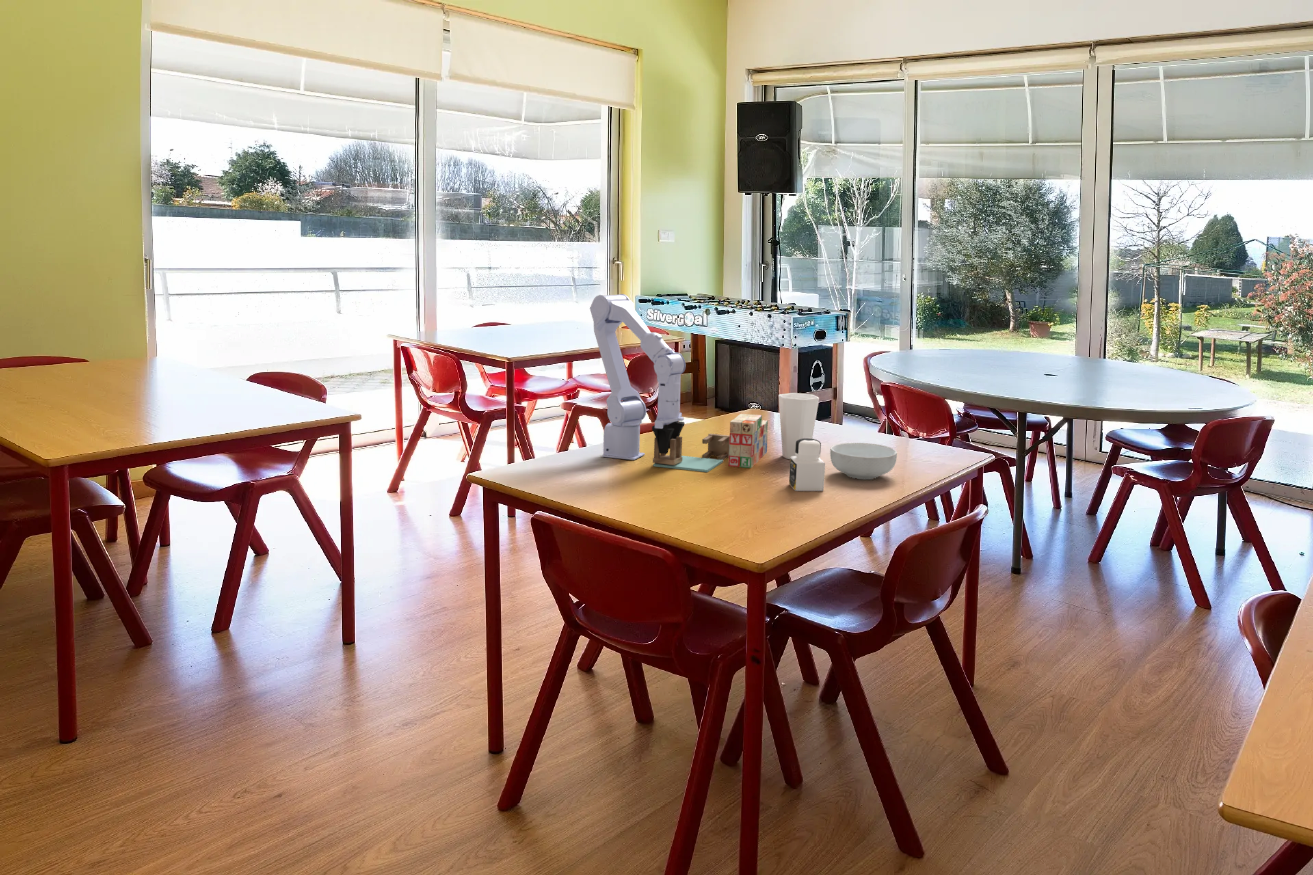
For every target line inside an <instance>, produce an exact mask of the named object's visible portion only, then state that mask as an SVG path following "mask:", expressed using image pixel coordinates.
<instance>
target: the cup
mask: <svg viewBox="0 0 1313 875" xmlns="http://www.w3.org/2000/svg"><path fill="white" fill-rule="evenodd" d="M819 402H820V397H818V396H817V395H815V394H811V393H801V392H799V393H798V392H789V393H781V394H778V406H779V408H778V410H779V422H780V438H781V450H782V452H781V453H782V457H783V458H784V459H788V460H790V457H791V456H795V449H796V441H797V440H799V439H803V438H810V439H814V438H813V436H814V431H815V425H816V420H817V414H818V413H817V412H818V408H819Z"/></svg>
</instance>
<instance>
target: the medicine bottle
mask: <svg viewBox="0 0 1313 875" xmlns="http://www.w3.org/2000/svg"><path fill="white" fill-rule="evenodd" d="M821 447H822V443H821V441H820V440H817V439H816V438H812V439H810V438H803V439H799V440H797V441H796V449H795V456H791V457H790V459H789V474H788V475H789V476H788V480H789V481H788V484H789V485H790V487H791V488H792V489H793V490H794V491H795V492H823V491H824V489H825V474H826V472H825V470H826V468H825V467H826V462H824V460H823V459H822V458H820V457H821V452H822V451H821V449H822V448H821Z"/></svg>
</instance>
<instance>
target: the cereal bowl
mask: <svg viewBox="0 0 1313 875" xmlns="http://www.w3.org/2000/svg"><path fill="white" fill-rule="evenodd" d="M829 454H830V461H831V463H832V466H833V467H834V468H835V469H836V470H837V471H839V472H840V473H843V474H845V475H846V476H847V477H849V476H850V477H849V478H851V477H852V478H851V479H855V478H857V479H858V480H874V479H873V478H875V479H877V478H879V476H883V475H885V474H888V473H890V472H891V471H892V470H893V469H894V467H895V465H896V463H897V457H898V452H897V450H896V449H894V448H892V447H890V446H887V445H883V444H877V443H865V442H845V443H839V444H834V445H832V446H831V447H830V450H829ZM876 477H877V478H876ZM857 479H856V480H857Z"/></svg>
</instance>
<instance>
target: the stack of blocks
mask: <svg viewBox="0 0 1313 875" xmlns="http://www.w3.org/2000/svg"><path fill="white" fill-rule="evenodd" d="M768 423H769V421H768V420H767V419H766V420H765V419H763V415H761V414H749V413H748V414H745V413H740V414H738V415H737V416H736V417H735V418H734V419H731V420H730V421H729V435H730V436H729V458H728V462H727V463H728V467H734V468H735V467H736V468H746V469H751V468H753V467H754V466H755V465H756V464H757V463H758V462H759V461H760V460H761V458H762V457H764V456H765V455H766V454H767V452H768V440H769V439H768V438H769V437H768V435H769V434H768V432H769V431H768V426H769V425H768Z"/></svg>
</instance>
